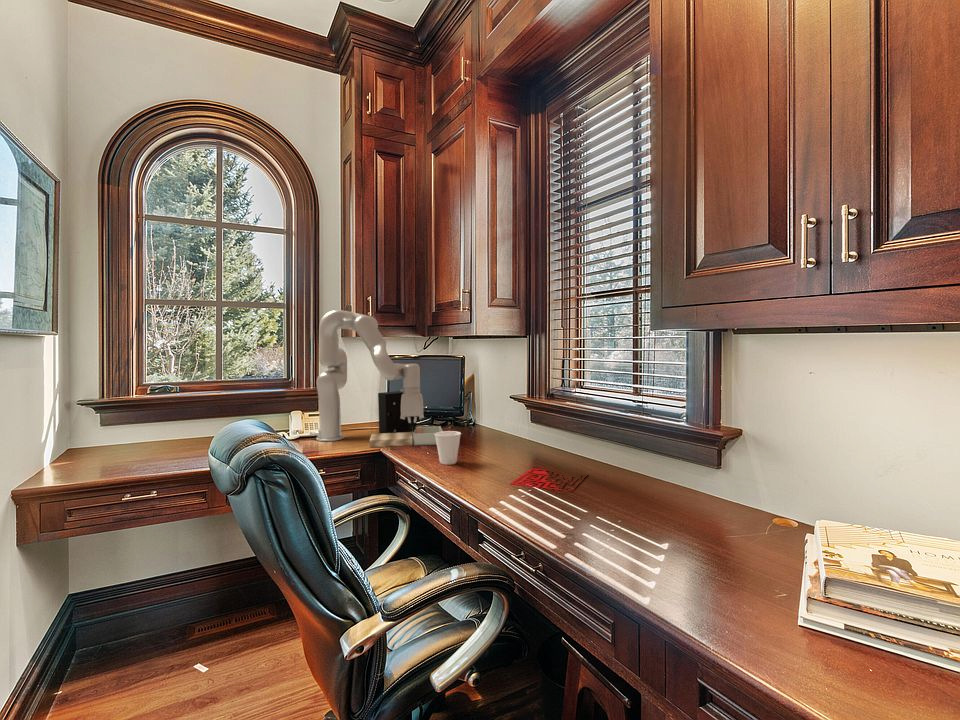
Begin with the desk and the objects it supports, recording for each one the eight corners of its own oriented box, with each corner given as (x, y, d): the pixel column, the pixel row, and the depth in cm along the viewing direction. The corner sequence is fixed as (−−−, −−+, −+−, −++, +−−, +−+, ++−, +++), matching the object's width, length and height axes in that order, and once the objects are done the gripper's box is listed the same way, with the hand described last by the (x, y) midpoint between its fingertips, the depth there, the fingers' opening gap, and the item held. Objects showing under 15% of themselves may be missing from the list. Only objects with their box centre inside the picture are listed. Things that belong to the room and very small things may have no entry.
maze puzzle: (509, 485, 158) (509, 483, 158) (531, 470, 176) (531, 468, 176) (572, 493, 150) (572, 491, 150) (588, 476, 168) (588, 474, 168)
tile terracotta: (416, 428, 227) (423, 428, 228) (416, 426, 232) (423, 426, 232) (416, 439, 227) (423, 439, 228) (416, 437, 232) (423, 437, 233)
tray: (413, 445, 217) (413, 434, 217) (412, 438, 234) (412, 427, 234) (443, 444, 219) (443, 432, 219) (440, 436, 236) (440, 426, 236)
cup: (462, 459, 192) (462, 430, 191) (460, 466, 182) (460, 435, 181) (436, 459, 192) (435, 431, 191) (433, 466, 182) (432, 436, 181)
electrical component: (408, 428, 258) (407, 389, 257) (418, 431, 250) (418, 391, 249) (377, 433, 247) (376, 392, 246) (387, 436, 239) (386, 394, 238)
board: (369, 447, 215) (369, 440, 215) (371, 440, 230) (371, 433, 230) (412, 445, 218) (412, 438, 218) (411, 438, 233) (411, 432, 233)
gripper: (394, 392, 224) (395, 433, 225) (428, 391, 226) (429, 432, 227) (394, 390, 231) (395, 430, 232) (427, 389, 234) (428, 429, 234)
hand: (412, 431), depth 230 cm, fingers closed
